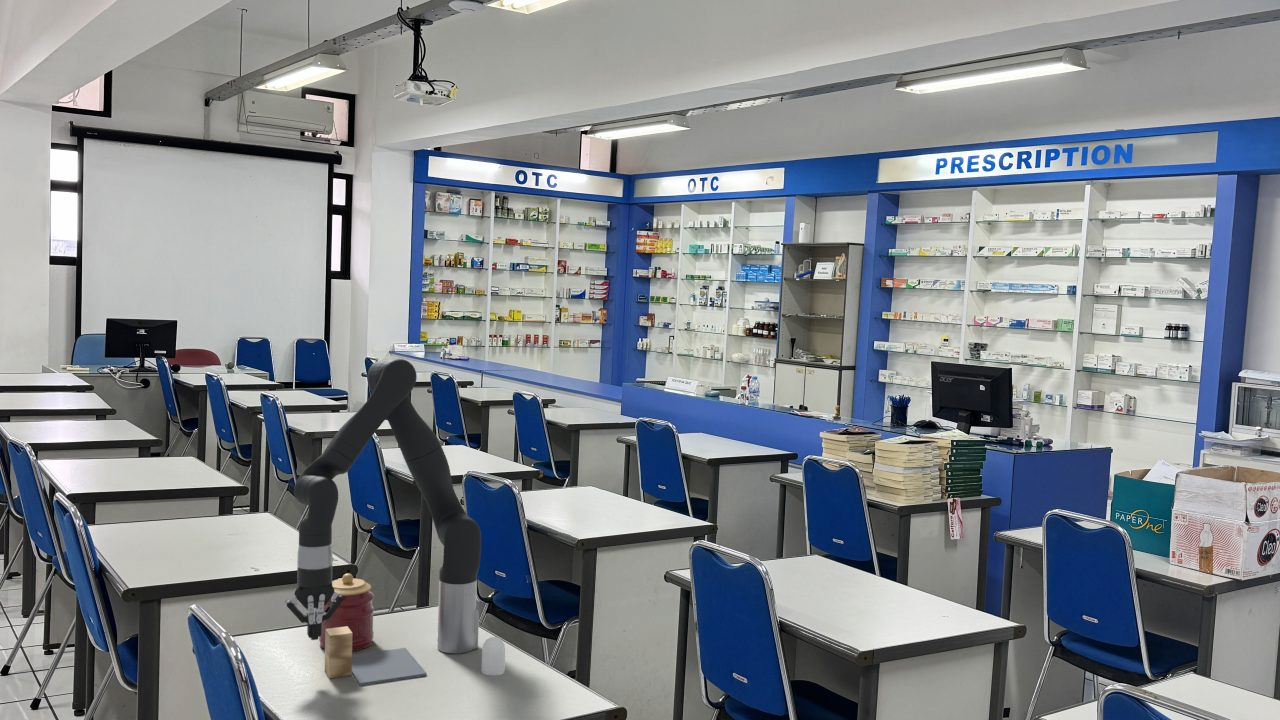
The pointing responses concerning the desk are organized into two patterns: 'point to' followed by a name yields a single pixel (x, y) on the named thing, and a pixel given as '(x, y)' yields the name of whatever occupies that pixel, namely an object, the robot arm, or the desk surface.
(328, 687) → the desk surface
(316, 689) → the desk surface
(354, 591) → the canister
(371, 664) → the mat
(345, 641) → the oak block
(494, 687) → the desk surface
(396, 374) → the robot arm
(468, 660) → the desk surface
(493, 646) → the white domed cylinder
